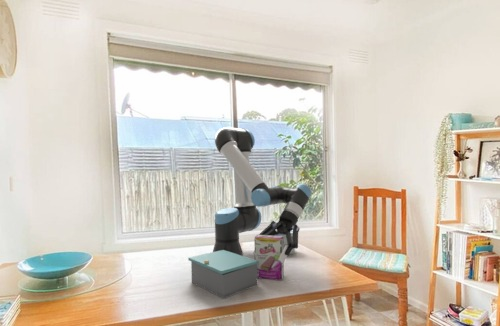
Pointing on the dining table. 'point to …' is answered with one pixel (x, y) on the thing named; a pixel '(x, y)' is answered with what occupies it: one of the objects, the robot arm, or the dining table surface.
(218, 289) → the chest
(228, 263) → the lid
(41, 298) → the dining table surface
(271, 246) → the candy bar box
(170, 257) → the dining table surface
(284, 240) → the light bulb box
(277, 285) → the dining table surface
